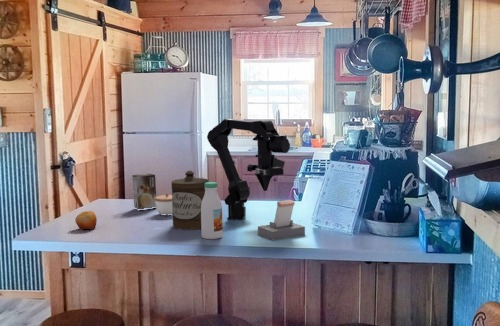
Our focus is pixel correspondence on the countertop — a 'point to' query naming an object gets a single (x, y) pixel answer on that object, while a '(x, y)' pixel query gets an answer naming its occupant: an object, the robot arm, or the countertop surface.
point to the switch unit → (281, 231)
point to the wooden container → (187, 201)
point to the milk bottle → (211, 213)
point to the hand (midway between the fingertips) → (265, 190)
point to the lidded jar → (164, 204)
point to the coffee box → (144, 191)
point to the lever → (283, 213)
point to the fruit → (86, 220)
